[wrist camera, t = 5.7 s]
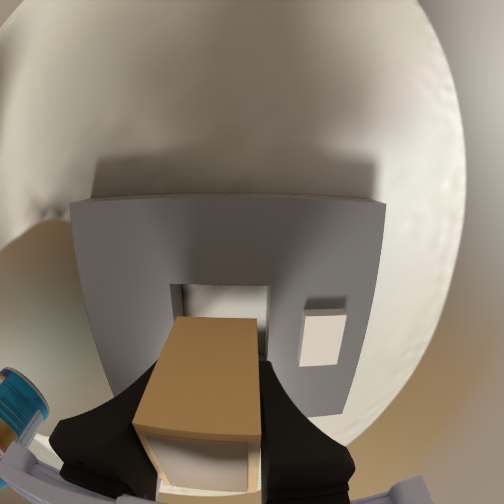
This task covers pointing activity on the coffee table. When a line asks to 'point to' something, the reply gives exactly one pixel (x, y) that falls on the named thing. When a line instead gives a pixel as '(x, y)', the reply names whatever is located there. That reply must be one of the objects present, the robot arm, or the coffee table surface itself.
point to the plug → (204, 406)
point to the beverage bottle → (19, 411)
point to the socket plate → (234, 278)
